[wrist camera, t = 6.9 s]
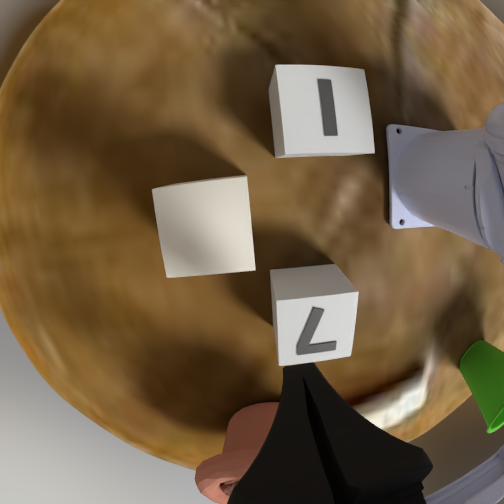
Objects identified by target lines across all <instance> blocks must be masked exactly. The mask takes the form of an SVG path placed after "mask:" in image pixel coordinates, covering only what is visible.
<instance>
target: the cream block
mask: <svg viewBox="0 0 504 504" xmlns="http://www.w3.org/2000/svg"><path fill="white" fill-rule="evenodd" d="M152 194H153V201H154V208H155V215H156V221H157V227H158V233H159V239H160V245H161V250H162V255H163V260H164V266H165V270H166V275H167V278H172V277H185V276H197V275H209V274H221V273H232V272H243V271H254V270H256V269H255V258H254V246H253V236H252V225H251V215H250V204H249V194H248V183H247V175H241V176H231V177H222V178H213V179H205V180H198V181H190V182H183V183H176V184H172V185H167V186H163V187H159V188H154V189H152Z"/></svg>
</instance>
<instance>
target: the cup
mask: <svg viewBox="0 0 504 504" xmlns="http://www.w3.org/2000/svg"><path fill="white" fill-rule="evenodd" d="M459 366H460V371H461V373H462V375H463V377H464V379H465V381H466V383H467V384H468V386H469V388H470V390H471V392H472V394H473V396H474V398H475V400H476V402H477V404H478V406H479V408H480V411H481V413H482V415H483V417H484V419H485V422H486V424H487V426H488V428H487V432H488V433H492V432H494V431H496V430H497V429H498V428H500V427H501V426H502V425H503V424H504V352H502V351H501V350H499V349H498V348H496V347H494V346H493V345H491V344H489V343H488V342H486V341H482V340H479V341H477V342H475V343H474V344H473V345H471V346H470V347H469V349H468V350H467V351H466V352H465V354H464V355H463V357H462V359H461V361H460V365H459Z"/></svg>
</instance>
